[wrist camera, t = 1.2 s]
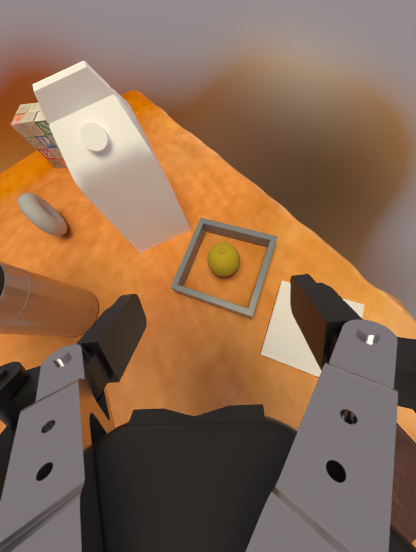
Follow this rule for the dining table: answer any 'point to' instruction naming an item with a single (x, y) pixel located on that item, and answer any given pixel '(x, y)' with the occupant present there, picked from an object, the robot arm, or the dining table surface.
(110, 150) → the milk
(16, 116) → the stack of blocks
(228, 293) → the dining table surface
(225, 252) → the lemon
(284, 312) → the board
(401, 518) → the notebook
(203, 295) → the grey square frame
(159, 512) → the robot arm
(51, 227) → the donut
